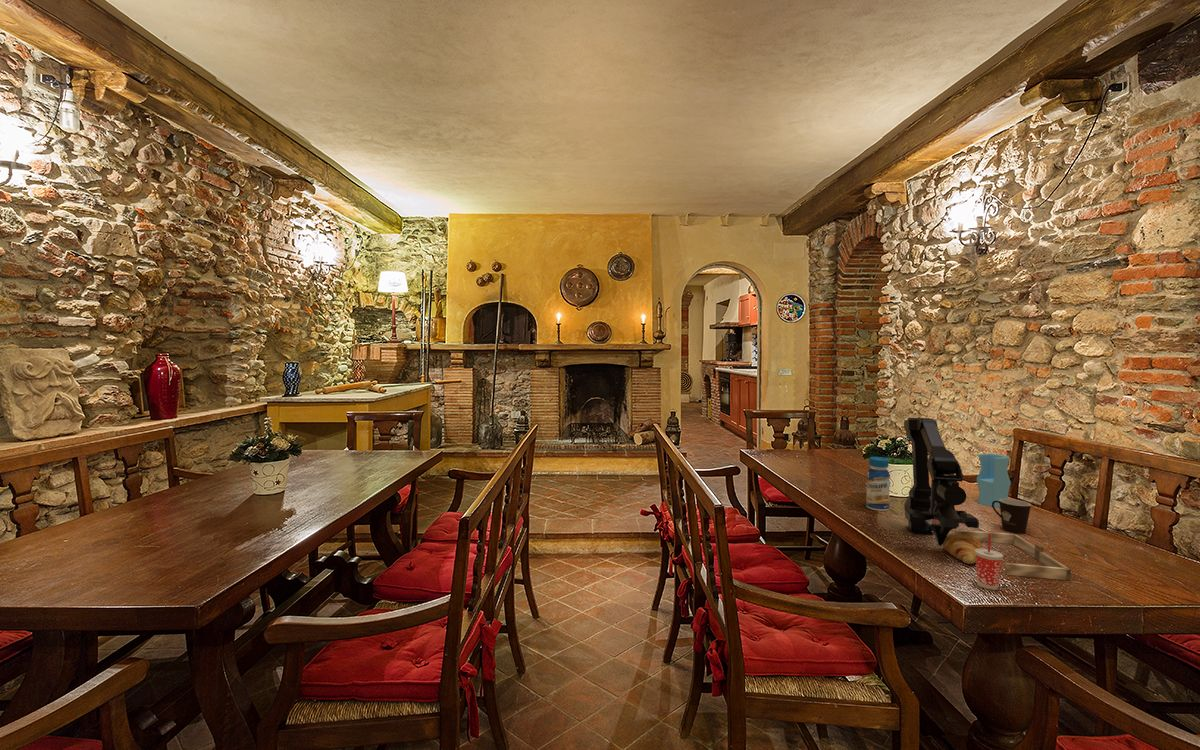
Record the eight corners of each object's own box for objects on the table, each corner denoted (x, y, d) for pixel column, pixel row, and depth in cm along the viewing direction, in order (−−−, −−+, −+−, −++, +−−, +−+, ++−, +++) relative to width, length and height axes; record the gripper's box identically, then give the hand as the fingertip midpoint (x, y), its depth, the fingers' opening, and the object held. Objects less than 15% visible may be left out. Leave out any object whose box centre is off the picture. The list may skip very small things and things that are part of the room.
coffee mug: (1035, 535, 177) (1036, 506, 176) (1006, 534, 178) (1007, 505, 178) (1015, 524, 188) (1016, 497, 187) (988, 522, 190) (989, 495, 189)
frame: (1006, 574, 146) (1007, 559, 146) (963, 539, 174) (963, 526, 173) (1070, 580, 143) (1071, 564, 143) (1015, 543, 170) (1016, 530, 170)
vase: (975, 502, 215) (977, 454, 214) (990, 500, 217) (992, 453, 216) (994, 507, 208) (996, 458, 206) (1009, 506, 209) (1011, 457, 208)
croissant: (981, 580, 151) (998, 558, 149) (945, 559, 154) (961, 538, 152) (964, 552, 170) (979, 533, 168) (933, 534, 173) (947, 515, 171)
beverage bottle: (891, 507, 207) (893, 458, 206) (886, 512, 201) (888, 461, 200) (868, 503, 213) (870, 455, 212) (862, 508, 207) (864, 458, 206)
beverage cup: (984, 590, 137) (986, 538, 136) (967, 580, 143) (969, 530, 142) (1007, 590, 137) (1010, 538, 136) (990, 580, 143) (992, 530, 142)
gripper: (916, 501, 156) (914, 552, 157) (988, 506, 152) (986, 558, 152) (905, 491, 167) (903, 539, 168) (971, 495, 162) (969, 544, 163)
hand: (939, 545), depth 163 cm, fingers closed
